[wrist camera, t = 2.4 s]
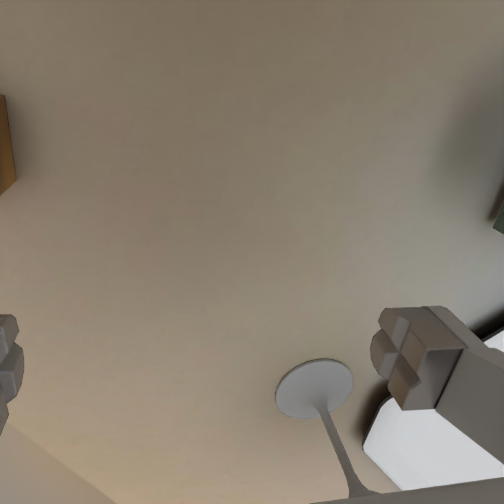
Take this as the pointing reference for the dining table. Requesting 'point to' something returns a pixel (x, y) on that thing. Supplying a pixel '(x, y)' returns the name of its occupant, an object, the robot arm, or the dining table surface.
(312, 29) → the dining table surface
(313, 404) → the wineglass
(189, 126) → the dining table surface
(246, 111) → the dining table surface
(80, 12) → the dining table surface
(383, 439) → the plate
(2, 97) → the block
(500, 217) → the drawer
